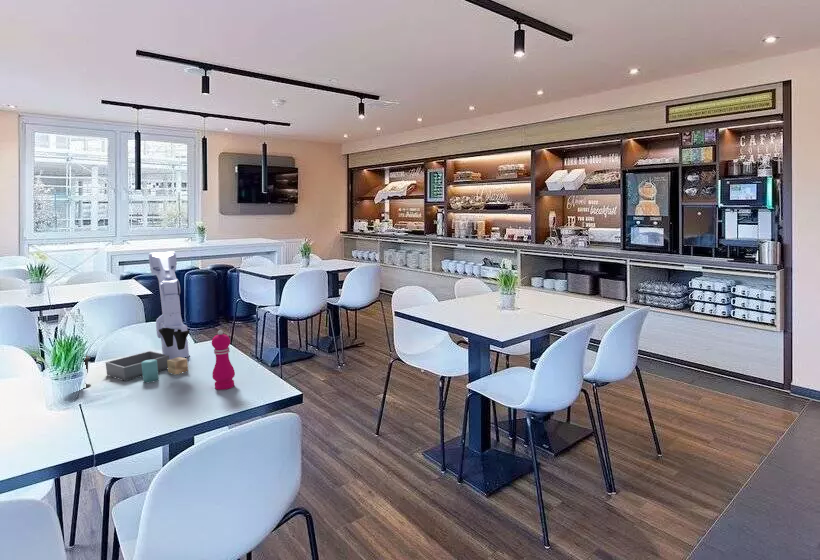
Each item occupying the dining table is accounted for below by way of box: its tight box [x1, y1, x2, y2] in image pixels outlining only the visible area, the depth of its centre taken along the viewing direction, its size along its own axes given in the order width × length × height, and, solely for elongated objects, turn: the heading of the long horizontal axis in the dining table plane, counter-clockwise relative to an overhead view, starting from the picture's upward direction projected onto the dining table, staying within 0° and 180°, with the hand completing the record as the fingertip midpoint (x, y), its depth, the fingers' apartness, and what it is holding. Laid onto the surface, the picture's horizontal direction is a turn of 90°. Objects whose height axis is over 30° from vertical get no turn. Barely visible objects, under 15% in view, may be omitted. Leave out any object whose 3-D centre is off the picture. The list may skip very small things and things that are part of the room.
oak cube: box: [167, 357, 189, 375], centre depth 193 cm, size 5×5×5 cm
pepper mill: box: [211, 329, 236, 391], centre depth 175 cm, size 7×7×20 cm
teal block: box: [141, 359, 160, 383], centre depth 184 cm, size 5×5×7 cm
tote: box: [105, 350, 169, 382], centre depth 195 cm, size 17×13×5 cm
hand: (175, 347), depth 192 cm, fingers open, 7 cm apart
